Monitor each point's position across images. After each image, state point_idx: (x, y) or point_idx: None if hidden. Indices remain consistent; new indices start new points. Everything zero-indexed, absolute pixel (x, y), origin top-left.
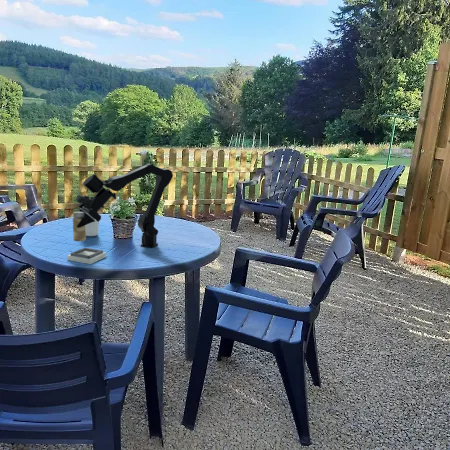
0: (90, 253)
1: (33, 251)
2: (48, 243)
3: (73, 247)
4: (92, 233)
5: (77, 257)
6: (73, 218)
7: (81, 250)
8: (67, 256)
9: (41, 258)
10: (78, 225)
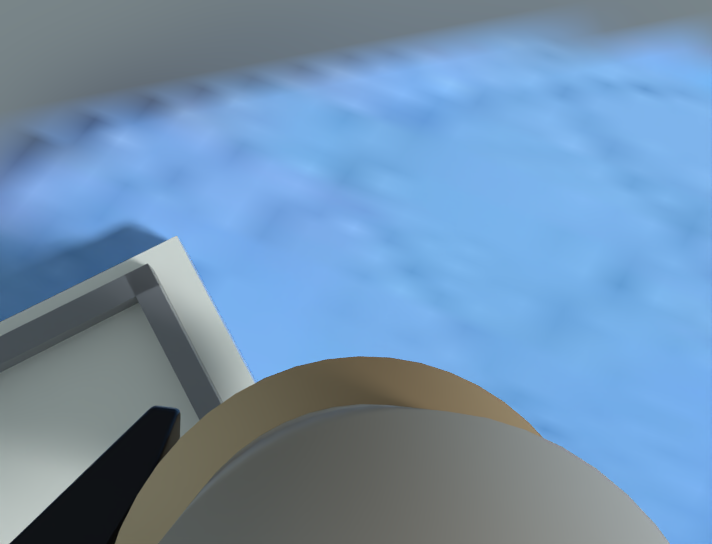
0: None
1: (649, 77)
2: None
3: None
4: None
5: (29, 309)
6: (411, 391)
7: None
8: (177, 239)
9: (385, 56)
10: (123, 446)
